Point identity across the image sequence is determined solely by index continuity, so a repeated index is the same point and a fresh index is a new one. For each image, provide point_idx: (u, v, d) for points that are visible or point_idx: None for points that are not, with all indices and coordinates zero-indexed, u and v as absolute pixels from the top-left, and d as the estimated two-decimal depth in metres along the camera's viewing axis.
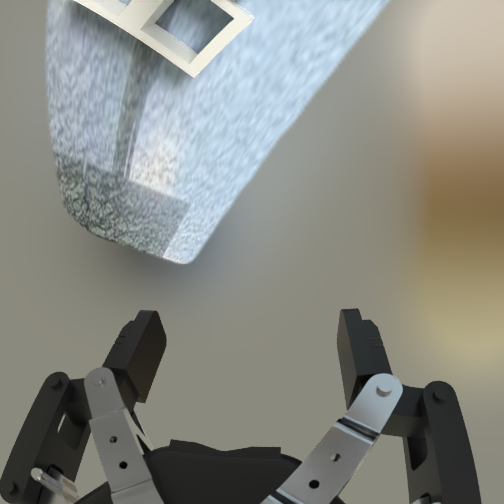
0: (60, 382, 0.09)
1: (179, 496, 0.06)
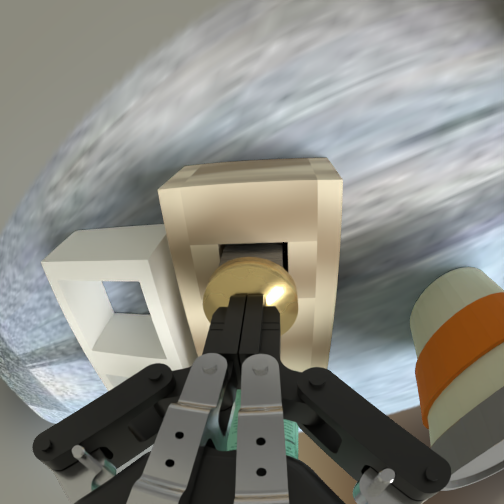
0: (161, 375, 0.09)
1: None
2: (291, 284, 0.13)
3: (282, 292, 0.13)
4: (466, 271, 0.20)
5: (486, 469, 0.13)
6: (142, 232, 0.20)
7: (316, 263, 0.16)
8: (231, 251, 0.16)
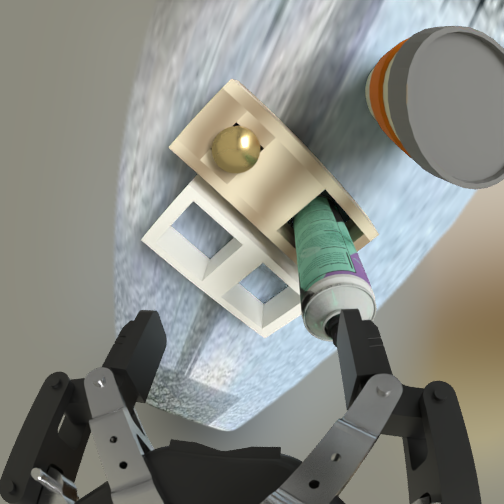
0: (60, 382, 0.09)
1: (179, 496, 0.06)
2: (241, 127, 0.26)
3: (239, 132, 0.26)
4: None
5: None
6: (186, 186, 0.34)
7: (258, 120, 0.26)
8: None
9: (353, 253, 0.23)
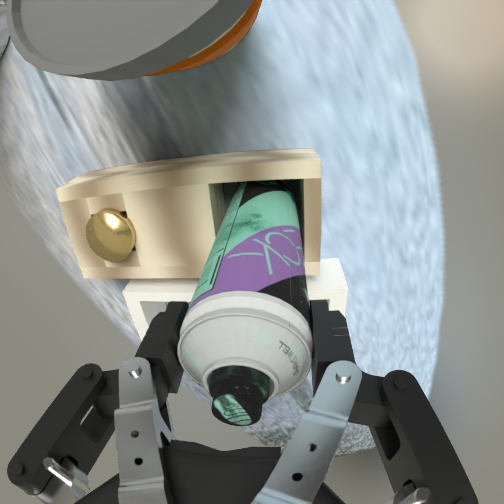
0: (92, 374, 0.09)
1: (187, 502, 0.05)
2: None
3: (93, 222, 0.22)
4: None
5: None
6: None
7: (98, 196, 0.22)
8: None
9: (236, 245, 0.14)
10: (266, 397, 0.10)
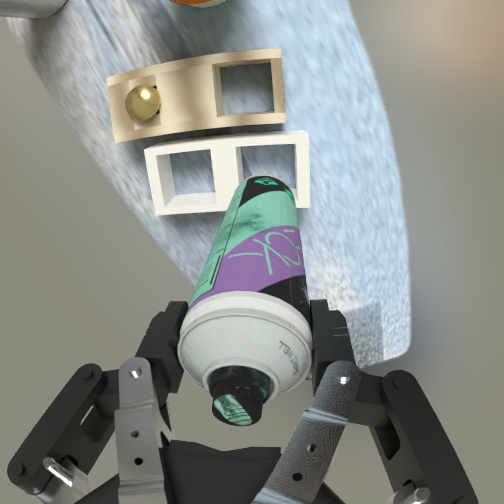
0: (92, 374, 0.09)
1: (187, 501, 0.05)
2: None
3: (133, 92, 0.31)
4: None
5: None
6: None
7: (138, 78, 0.30)
8: None
9: (236, 245, 0.14)
10: (266, 397, 0.10)
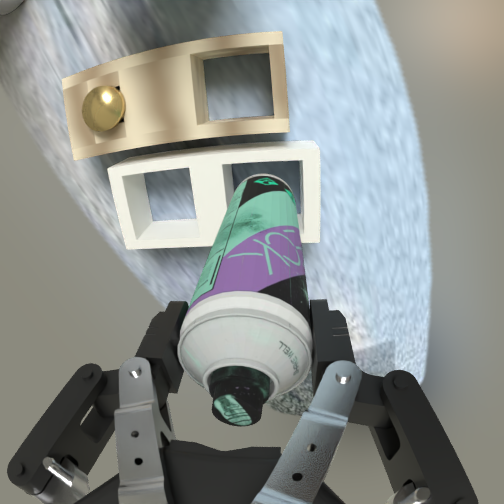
0: (92, 374, 0.09)
1: (187, 501, 0.05)
2: None
3: (90, 96, 0.22)
4: None
5: None
6: None
7: (98, 77, 0.22)
8: None
9: (236, 245, 0.14)
10: (266, 397, 0.10)
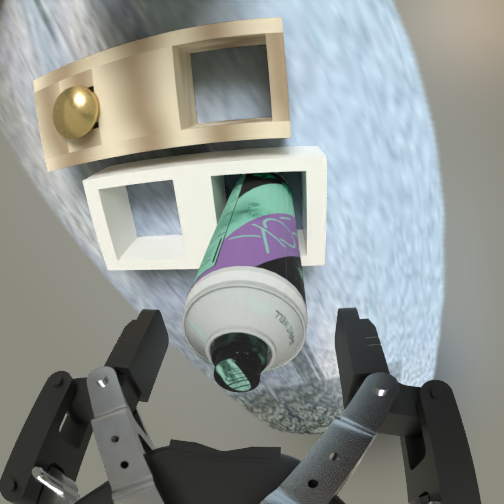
0: (62, 381, 0.09)
1: (180, 496, 0.06)
2: None
3: (61, 98, 0.18)
4: None
5: None
6: None
7: (70, 76, 0.18)
8: None
9: (236, 229, 0.15)
10: (264, 364, 0.11)
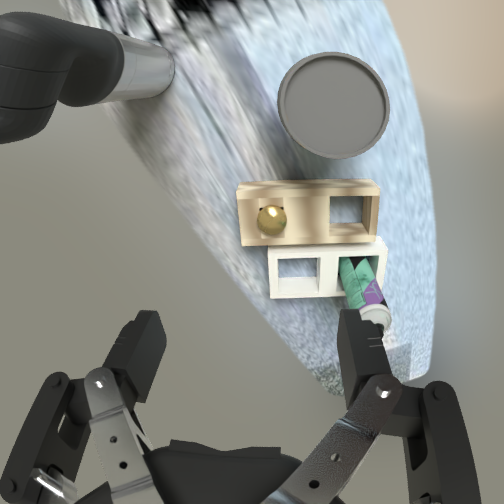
0: (60, 382, 0.09)
1: (179, 496, 0.06)
2: (263, 208, 0.45)
3: (265, 211, 0.45)
4: None
5: (382, 100, 0.28)
6: None
7: (267, 198, 0.45)
8: None
9: (365, 288, 0.42)
10: (382, 332, 0.37)
